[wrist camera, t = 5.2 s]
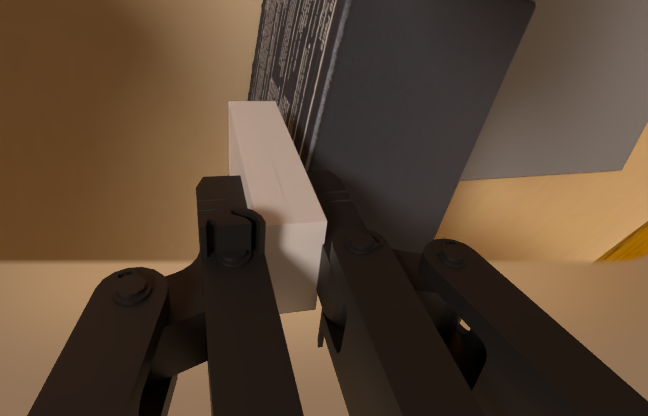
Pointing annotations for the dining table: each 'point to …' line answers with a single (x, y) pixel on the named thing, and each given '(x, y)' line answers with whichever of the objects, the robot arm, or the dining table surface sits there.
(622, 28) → the mat
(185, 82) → the dining table surface
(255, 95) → the small box
